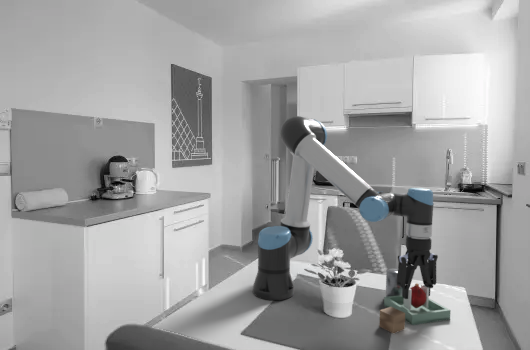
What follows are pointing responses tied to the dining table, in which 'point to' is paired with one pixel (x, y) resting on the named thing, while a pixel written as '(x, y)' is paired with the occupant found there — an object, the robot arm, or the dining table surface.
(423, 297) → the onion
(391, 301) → the tray
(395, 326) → the walnut block
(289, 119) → the robot arm
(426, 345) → the dining table surface
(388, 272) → the metal can
